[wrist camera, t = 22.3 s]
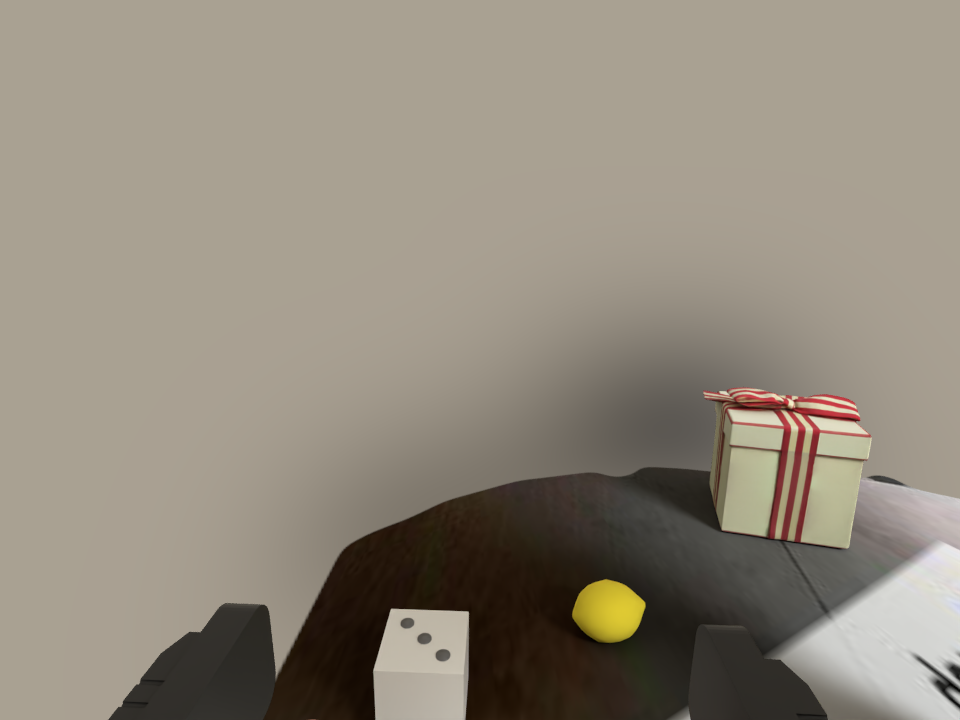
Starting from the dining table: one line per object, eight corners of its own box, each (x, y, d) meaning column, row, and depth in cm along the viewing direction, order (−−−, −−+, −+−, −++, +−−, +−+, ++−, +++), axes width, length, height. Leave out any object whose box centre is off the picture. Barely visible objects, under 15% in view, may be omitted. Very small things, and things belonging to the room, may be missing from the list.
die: (393, 673, 47) (391, 607, 45) (468, 676, 47) (468, 610, 45) (376, 743, 41) (373, 669, 39) (463, 746, 40) (463, 673, 39)
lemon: (581, 662, 49) (577, 612, 48) (568, 620, 54) (563, 573, 53) (657, 650, 49) (654, 599, 48) (636, 609, 55) (633, 562, 53)
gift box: (804, 484, 83) (823, 375, 78) (861, 554, 65) (889, 418, 61) (686, 473, 86) (698, 368, 82) (710, 537, 68) (727, 407, 64)
